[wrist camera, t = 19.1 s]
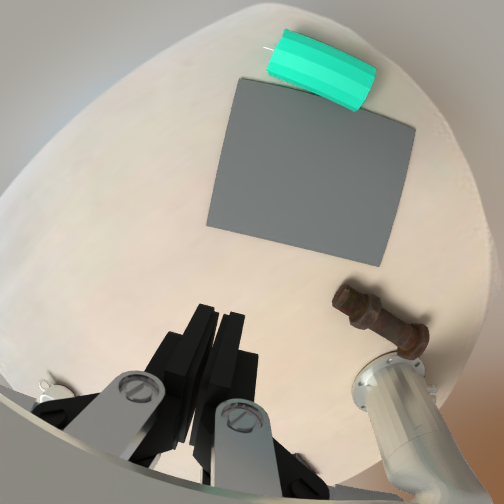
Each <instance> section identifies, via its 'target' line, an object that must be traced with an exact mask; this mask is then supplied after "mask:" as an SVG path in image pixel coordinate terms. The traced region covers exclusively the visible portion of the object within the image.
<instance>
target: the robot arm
mask: <svg viewBox="0 0 504 504" xmlns="http://www.w3.org/2000/svg"><path fill="white" fill-rule="evenodd" d="M218 317H219V312H215V311H214V307H211V306H207V305H204V304H199V305H198V307H197V309H196V311H195V313H194V315H193V317H192V318H191V320H190V322H189V324H188V326H187V328H186V330H185V332H184V333H183V335H181V334H178V333H174V332H171V331H169V332H168V333H167V335H166V336H165V338H164V339H163V341H162V343H161V344H160V346H159V348H158V349H157V351H156V352H155V354H154V356H153V357H152V359H151V361H150V362H149V364H148V366H147V367H146V369H145V371H128V372H125V373H122V374H120V375H119V376H117V377H116V378H115V379H114V380H113V381H112V382H111V383H110V384H109V385H108V386H107V387H106V388H105V389H104V390H103V391H102V392H101V393H95V394H89V395H83V396H77V397H71V398H64V399H57V400H49V401H45V402H42V403H37V399H36V398H33V397H30V396H27V395H24V394H22V393H19V392H16V391H14V390H11V389H9V388H6V387H4V386H2V385H0V504H493V502H492V499H491V497H490V495H489V493H488V492H487V490H486V489H485V488H484V486H483V485H482V483H481V482H480V481H479V479H478V478H477V477H476V475H475V474H474V472H473V471H472V470H471V468H470V466H469V465H468V464H467V462H466V460H465V458H464V457H463V455H462V453H461V451H460V449H459V447H458V446H457V444H456V442H455V440H454V438H453V436H452V435H451V432H450V430H449V429H448V427H447V425H446V423H445V421H444V419H443V417H442V415H441V414H440V412H439V410H438V408H437V406H436V404H435V403H436V396H435V395H430V394H429V393H436V392H437V390H438V387H437V385H428V384H427V383H426V381H425V379H424V378H425V367H424V365H423V363H422V361H421V360H420V358H419V357H418V358H417V359H415V360H407V359H403V358H401V357H399V356H397V352H393V353H389V354H386V355H383V356H381V357H379V358H377V359H375V360H374V361H372V362H371V363H369V364H368V365H367V366H366V367H365V368H364V369H363V370H362V371H361V372H360V373H359V374H358V376H357V377H356V379H355V381H354V383H353V386H352V397H353V400H354V403H355V404H356V406H357V407H358V408H359V409H361V410H363V411H365V412H368V415H369V418H370V421H371V425H372V428H373V431H374V434H375V438H376V441H377V444H378V448H379V451H380V454H381V458H382V461H383V465H384V468H385V472H386V475H387V477H388V479H389V481H390V483H391V484H392V485H393V486H395V487H396V488H398V489H399V490H401V491H404V492H407V493H409V494H413V495H416V496H415V498H414V499H412V500H411V501H409V502H405V501H404V500H403V499H402V498H400V497H399V496H398V495H395V494H392V493H385V492H378V491H370V490H364V489H359V488H353V487H347V486H343V485H338V484H335V485H334V486H333V487H332V486H328V485H326V483H325V482H324V481H323V480H322V479H321V478H320V477H319V476H317V475H316V474H315V473H314V472H312V471H311V470H310V469H309V468H307V467H306V466H305V465H304V464H303V463H302V462H300V461H299V460H298V459H297V458H296V457H294V456H293V455H292V454H291V453H290V452H289V451H288V450H286V449H285V448H284V447H283V446H282V445H281V444H280V443H279V442H277V441H276V440H275V439H274V438H273V437H272V432H271V426H270V420H269V417H268V414H267V413H266V411H265V410H264V409H263V408H262V407H261V406H259V405H258V404H256V403H254V397H255V387H256V377H257V367H258V354H255V353H251V352H246V351H242V350H238V349H239V344H240V339H241V334H242V329H243V324H244V319H245V315H243V314H239V313H235V312H230V315H226V314H224V315H223V318H222V320H221V323H220V326H219V329H218V332H217V335H216V338H215V341H214V336H215V331H216V326H217V322H218ZM213 341H214V344H213ZM212 345H213V347H212ZM195 408H196V409H195ZM194 411H195V415H194V420H193V426H192V431H191V437H190V442H189V445H192V446H194V451H193V456H194V458H195V459H196V460H197V461H198V463H199V464H200V465H201V466H202V468H201V475H200V483H196V482H192V481H188V480H185V479H181V478H177V477H174V476H170V475H167V474H164V473H161V472H158V471H155V470H153V469H154V467H155V466H156V464H157V462H158V461H159V459H160V456H161V453H163V452H166V451H169V450H172V449H174V450H175V449H176V446H177V443H178V442H181V443H184V442H185V439H186V436H187V433H188V430H189V427H190V424H191V421H192V417H193V414H194Z"/></svg>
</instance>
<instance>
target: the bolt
mask: <svg viewBox="0 0 504 504" xmlns="http://www.w3.org/2000/svg"><path fill="white" fill-rule="evenodd" d="M332 305H333V307H335V308H336V309H338V310H339V311H341V312H343V313H344V314H346V315H348V316H349V320H350V325H352V326H354V327H355V328H358V329H362V330H365V329H367V328H369V329H370V330H372V331H374V332H376V333H377V334H379V335H381V336H383V337H384V338H386V339H387V340H389V341H391V342H392V343H394V344H395V345H396V346H397V347H398V348H397V356H399V357H401V358H403V359H407V360H415V359H417V358H418V357H419V356H421V355H422V354H423V352H424V351H425V349H426V347H427V345H428V342H429V330H428V327H427V326H425V325H424V324H411V325H408V324H406V323H405V322H403V321H401V320H400V319H398V318H397V317H395V316H394V315H392V314H391V313H389V312H388V311H386V310H385V309H383V308H382V307H381V301H380V298H379V297H377V296H376V295H374V294H368V293H367V294H364V295H362V294H360V293H359V292H357V291H355V290H354V289H352V288H351V287H349V286H348V285H343V286H341V287H340V288H339V290H338V291H337V292H336V294H335V295H334V298H333V300H332Z"/></svg>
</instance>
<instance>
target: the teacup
mask: <svg viewBox="0 0 504 504" xmlns="http://www.w3.org/2000/svg"><path fill="white" fill-rule="evenodd" d="M42 381H44V382H46V383H47V384H48V385H49V388H43V387H42V386H41V382H42ZM39 387H40V389H41V390H42V391H43V392H44V393H43V394H42V395H41V396H40V402H41V403H42V402H45V401H49V400H57V399H64V398H71V397H75V396H74V394H73V393H72V392H71V391H70V390H69V389H68V388H66V387H64V386H61V385H53V384H52V383H50V382H49V381H47V380H45V379H42V380H40V381H39Z"/></svg>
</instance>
